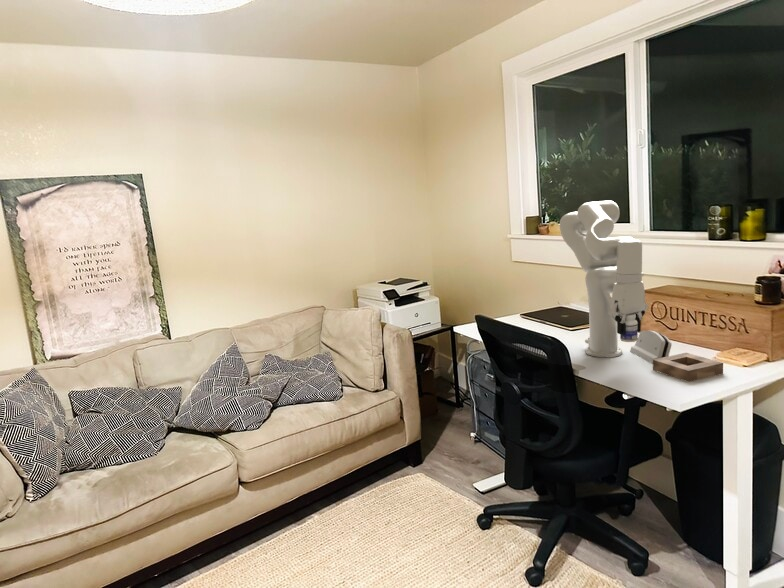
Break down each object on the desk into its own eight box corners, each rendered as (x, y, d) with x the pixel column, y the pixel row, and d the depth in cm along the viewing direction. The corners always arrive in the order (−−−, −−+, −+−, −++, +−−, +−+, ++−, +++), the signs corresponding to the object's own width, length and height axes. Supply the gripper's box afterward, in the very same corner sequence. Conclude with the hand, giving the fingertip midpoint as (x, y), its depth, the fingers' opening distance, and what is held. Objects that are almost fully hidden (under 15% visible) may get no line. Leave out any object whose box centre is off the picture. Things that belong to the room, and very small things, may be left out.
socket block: (652, 369, 183) (652, 359, 183) (686, 362, 188) (686, 352, 187) (688, 381, 170) (688, 370, 170) (723, 373, 175) (723, 362, 174)
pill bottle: (618, 338, 188) (618, 312, 186) (635, 337, 187) (635, 311, 185) (622, 342, 182) (622, 316, 181) (639, 342, 182) (639, 315, 180)
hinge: (629, 351, 206) (638, 325, 204) (641, 354, 206) (650, 328, 205) (652, 364, 189) (662, 335, 188) (665, 367, 190) (675, 339, 188)
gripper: (641, 273, 187) (641, 326, 190) (599, 280, 181) (599, 334, 185) (659, 276, 180) (658, 331, 183) (615, 283, 174) (615, 339, 178)
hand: (628, 332), depth 184 cm, fingers closed on pill bottle, 5 cm apart
